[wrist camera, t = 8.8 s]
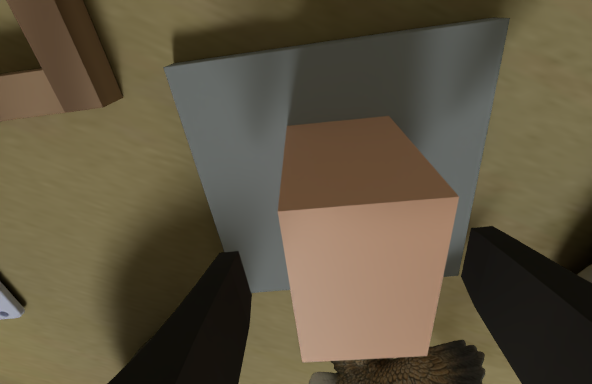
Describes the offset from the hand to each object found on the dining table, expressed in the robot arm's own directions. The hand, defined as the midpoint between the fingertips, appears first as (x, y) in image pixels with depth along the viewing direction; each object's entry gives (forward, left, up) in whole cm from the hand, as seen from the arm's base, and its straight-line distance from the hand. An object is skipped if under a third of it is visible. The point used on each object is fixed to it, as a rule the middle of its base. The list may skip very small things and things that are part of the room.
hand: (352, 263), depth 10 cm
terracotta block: (0, 0, -5) cm, 5 cm away
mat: (0, 0, -6) cm, 6 cm away
